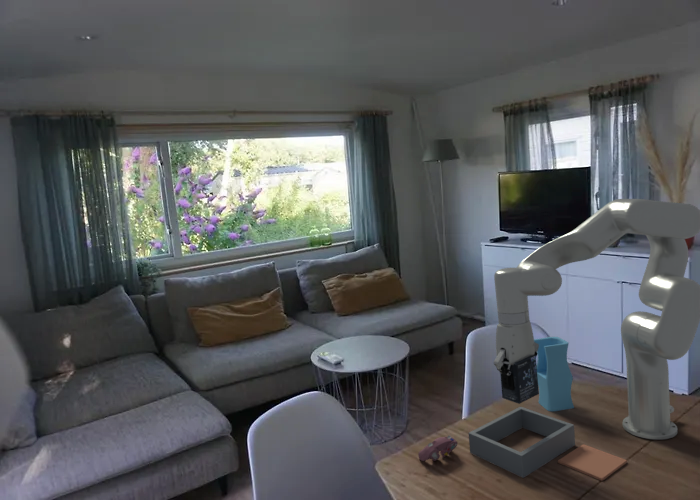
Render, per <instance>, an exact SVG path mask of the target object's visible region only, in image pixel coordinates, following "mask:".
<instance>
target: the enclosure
mask: <svg viewBox="0 0 700 500" xmlns="http://www.w3.org/2000/svg"><path fill="white" fill-rule="evenodd" d="M521 429H526V430H528V431H530V432H533V433H536V434H538V435H541V436H543V437H544V438H542V439H540V440H539V441H537V442H535V443H534V444H532V445H530V446H529V447H527V448H525V449H524V450H522V451H520V450H516V449H514V448H512V447H510V446H507V445H505V444H502V443H500V441H501V440H503V439H504V438H506V437H509V436H510V435H512V434H513V433H515V432H517V431H519V430H521ZM575 435H576V434H575V424H572V423H569V422H566V421H564V420H562V419H558V418H555V417H552V416H550V415H546V414H543V413H540V412H537V411H535V410H532V409H528V408H526V407H523V406H518V407H517V408H515V409H513V410H511V411H509V412H507V413H505V414H502V415H501V416H499V417H496V418H495V419H493V420H491V421H489V422H487V423H484V424H483V425H481V426H479V427H477V428H476V429H473V430H471V431H469V432H468V441H469V442H468V445H469V453H470V454H472V455H474V456H476V457H478V458H480V459H483V460H484V461H487V462H489V463H491V464H493V465H495V466H497V467H499V468H500V469H504V471H505V470H506V471H508V472H510V473H511V474H513V475H516V476H518V477H520V478H522V479H524V478H525V477H527V476H529V475H530V474H531V473H533V472H535V471H537V470H539V469H540V468H541V467H543V466H545V465H546V464H548V463H549V462H552V461H553V460H554V459H556V458H557V457H558V456H560V455H561V454H563V453H565V452H567V451H568V450H570V449H572V448H573V447H575V446H576V436H575Z"/></svg>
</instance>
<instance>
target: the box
mask: <svg viewBox="0 0 700 500" xmlns="http://www.w3.org/2000/svg"><path fill="white" fill-rule="evenodd" d="M505 361H507V362H509V360H505ZM508 366H509V365H508V364H505V368H506V369H508ZM499 374H500V385H501V395H502V398H503V399H505V400H507V401H509V402H512V403H515V404H518V405H521V404H522V403H524V402H526V401H528V400H530V399H532V398H534V397H535V396H538V395H539V386H538V377H537V356H535V355H532V356H530V357H527V358H525V359H523V360H521V361H518V362H516V363H514V365H512V373H511V374H512V375H513V376H514V388H515V389H514V390H513V391H512V390H509V389H506V388H503V383H502V374H501V373H500V372H499Z"/></svg>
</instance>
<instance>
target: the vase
mask: <svg viewBox="0 0 700 500" xmlns="http://www.w3.org/2000/svg"><path fill="white" fill-rule="evenodd" d="M534 342H535V343H537V344H539V348H538V351H537V360H536V365H537V377H538V389H539V394H538V395H539V396H538V404H539V405H540V406H542V407H543V408H544V409H545V410H546V411H548V412H558V411H566V410H572V409H575V407H574V403H573V400H572V385H573V379H574V378H573V375H572V374H573V373H572V371H571V369H570V367H569V363H568V356H567V355H568V348H569V343H570V342H569V341H566V340H565V339H562V338H561V337H558V336H549V337H542V338H541V337H540V338H534Z"/></svg>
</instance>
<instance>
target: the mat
mask: <svg viewBox="0 0 700 500" xmlns="http://www.w3.org/2000/svg"><path fill="white" fill-rule="evenodd" d="M557 463H558V464H560V465H563V466H565V467H568V468H570V469H573V471H574V470H575V471H577V472H580V473H582V474H584V475H587V476H590V477H591V478H594V479H596V480H598V481H604V480H606V479H607V478H608V477H609V476H611V475H613V474H614V473H616V471H618V470H619V469H620V468H622V467H624V465H626V464H627V463H628V460H627V459H625V458H623V457H620V456H616V455H614V454H611V453H609V452H606V451H603V450H601V449H597V448H595V447H593V446H590V445H587V444H584V443H583V444H581V445H579V446H578V447H577V448H575V449H573V450H572V451H570V452H568V453H567V454H566V455H564V456H563V457H561V458H560V459H558V460H557Z"/></svg>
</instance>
